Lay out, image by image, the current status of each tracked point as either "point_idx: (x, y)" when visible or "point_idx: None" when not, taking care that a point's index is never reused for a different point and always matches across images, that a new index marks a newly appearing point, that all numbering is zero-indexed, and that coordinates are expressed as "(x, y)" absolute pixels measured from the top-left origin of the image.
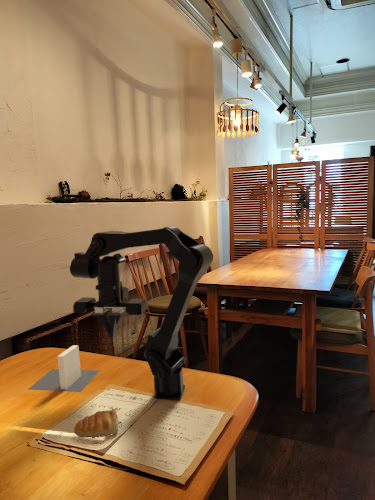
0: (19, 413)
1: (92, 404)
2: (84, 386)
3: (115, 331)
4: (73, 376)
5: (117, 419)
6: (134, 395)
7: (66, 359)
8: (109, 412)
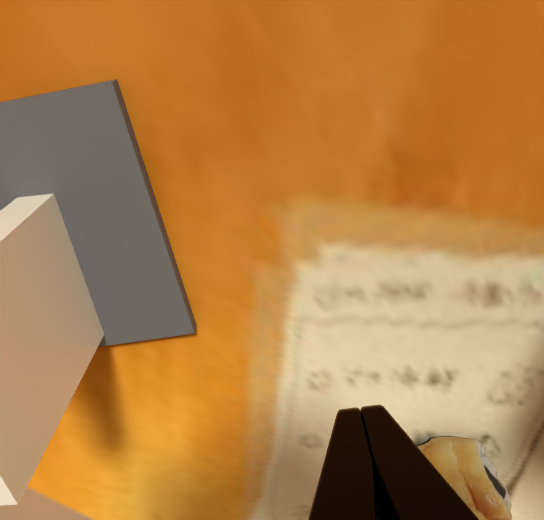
0: (71, 473)
1: (310, 377)
2: (175, 290)
3: (423, 462)
4: (65, 288)
5: (481, 451)
6: (484, 275)
7: (21, 440)
8: (477, 508)
